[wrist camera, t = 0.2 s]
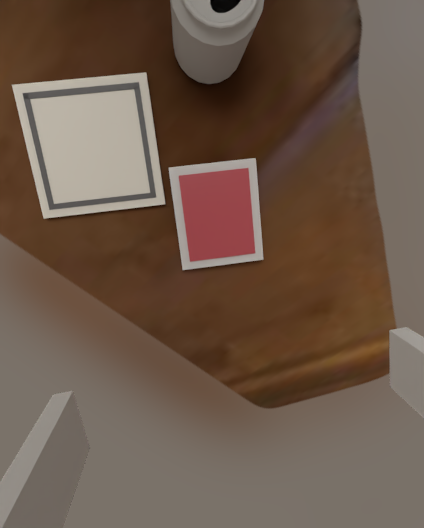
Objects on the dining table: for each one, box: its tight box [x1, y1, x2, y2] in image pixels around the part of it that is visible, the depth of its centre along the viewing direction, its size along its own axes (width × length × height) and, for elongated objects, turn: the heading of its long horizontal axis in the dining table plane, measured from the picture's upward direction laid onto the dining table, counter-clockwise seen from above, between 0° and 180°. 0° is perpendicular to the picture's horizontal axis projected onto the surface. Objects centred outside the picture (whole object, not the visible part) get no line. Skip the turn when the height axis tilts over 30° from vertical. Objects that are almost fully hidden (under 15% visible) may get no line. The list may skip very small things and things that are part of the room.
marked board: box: [12, 72, 165, 219], centre depth 35 cm, size 14×14×1 cm
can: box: [170, 0, 264, 84], centre depth 29 cm, size 8×8×12 cm
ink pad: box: [169, 158, 263, 270], centre depth 38 cm, size 12×10×2 cm
